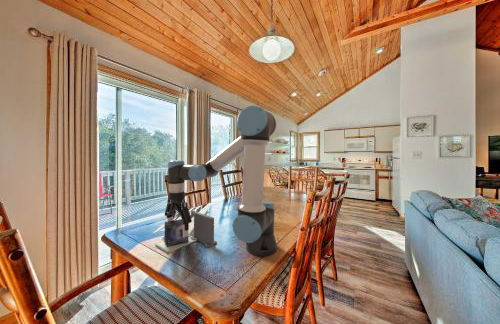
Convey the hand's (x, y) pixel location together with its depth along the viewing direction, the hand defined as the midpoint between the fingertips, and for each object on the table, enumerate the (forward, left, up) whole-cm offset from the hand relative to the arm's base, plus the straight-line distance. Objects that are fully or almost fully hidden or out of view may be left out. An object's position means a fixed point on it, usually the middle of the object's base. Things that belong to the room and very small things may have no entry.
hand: (177, 233), depth 99 cm
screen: (-9, -9, -5) cm, 14 cm away
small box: (0, 0, -5) cm, 5 cm away
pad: (0, 0, -5) cm, 5 cm away
